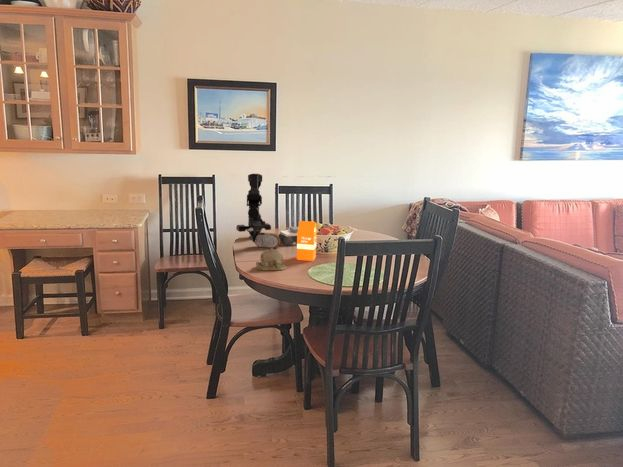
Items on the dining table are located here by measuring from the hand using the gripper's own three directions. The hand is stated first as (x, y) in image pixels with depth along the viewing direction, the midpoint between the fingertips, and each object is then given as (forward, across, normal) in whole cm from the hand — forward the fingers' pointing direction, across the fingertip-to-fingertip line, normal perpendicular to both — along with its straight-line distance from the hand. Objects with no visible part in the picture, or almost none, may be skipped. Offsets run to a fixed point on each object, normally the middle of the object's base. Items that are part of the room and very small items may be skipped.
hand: (253, 242), depth 262 cm
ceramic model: (+4, -4, -39) cm, 39 cm away
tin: (+4, +8, -1) cm, 9 cm away
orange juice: (+4, +20, -29) cm, 35 cm away
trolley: (+3, +25, +5) cm, 25 cm away
